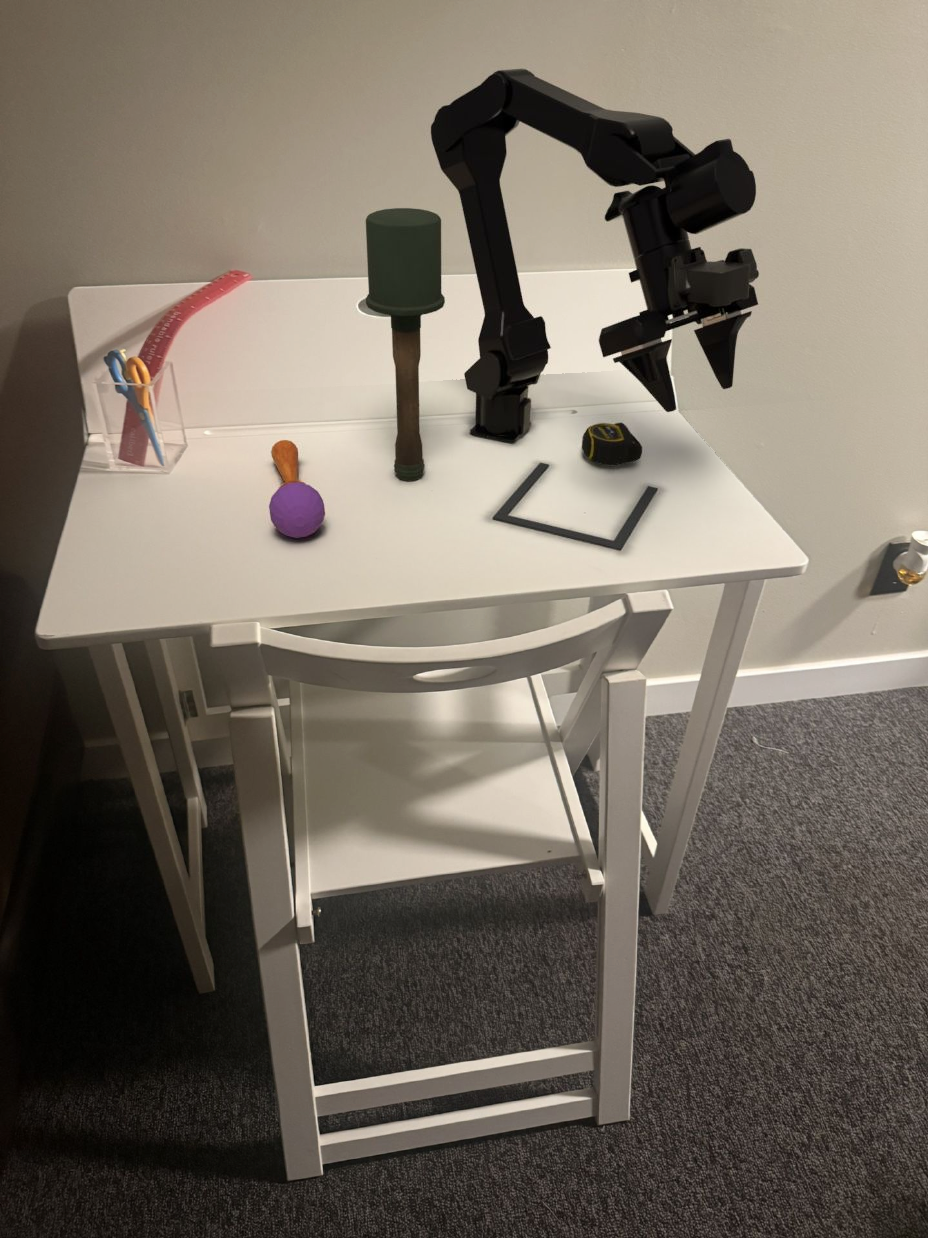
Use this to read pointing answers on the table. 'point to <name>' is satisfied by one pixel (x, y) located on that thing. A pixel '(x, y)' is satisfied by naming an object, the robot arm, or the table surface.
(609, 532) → the table surface
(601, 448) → the tape measure
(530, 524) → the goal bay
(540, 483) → the table surface
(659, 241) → the robot arm
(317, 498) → the purple maraca
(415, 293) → the potato masher grenade
